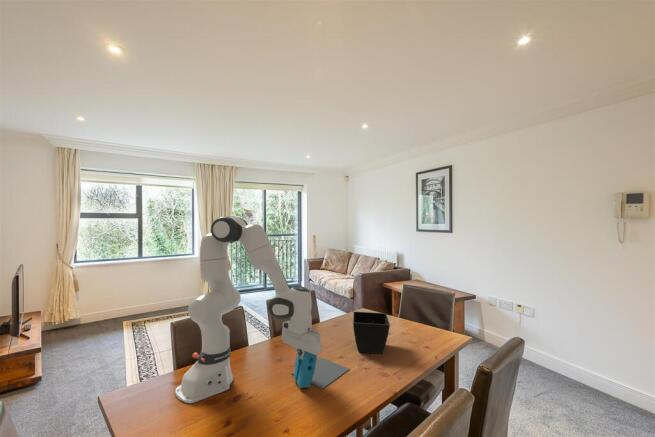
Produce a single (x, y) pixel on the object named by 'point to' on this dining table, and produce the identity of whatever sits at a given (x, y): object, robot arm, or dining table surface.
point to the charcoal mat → (326, 372)
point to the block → (305, 369)
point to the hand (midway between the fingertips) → (301, 358)
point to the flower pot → (370, 331)
